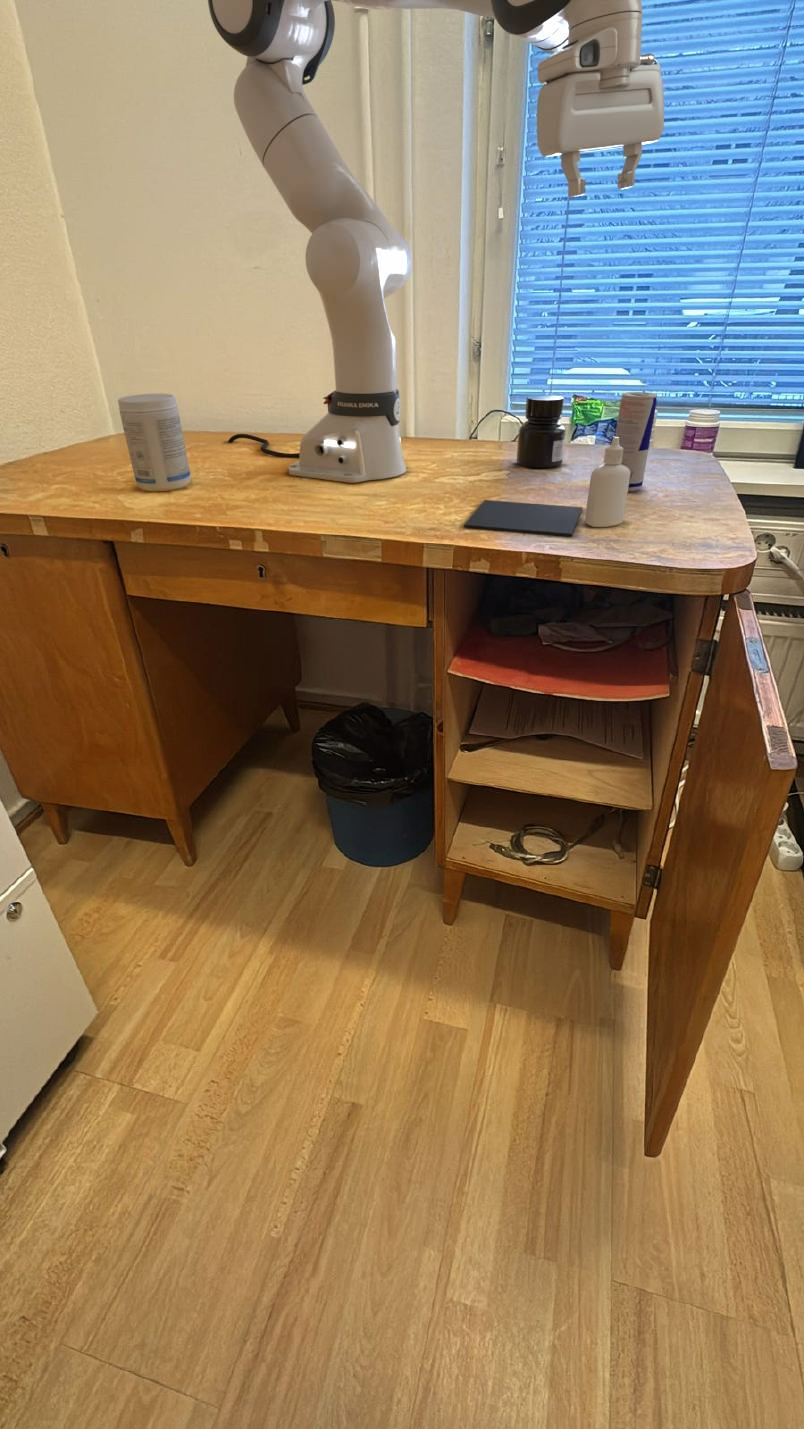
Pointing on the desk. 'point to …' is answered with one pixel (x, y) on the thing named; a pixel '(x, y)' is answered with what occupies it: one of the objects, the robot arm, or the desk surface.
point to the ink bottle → (542, 433)
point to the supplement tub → (155, 441)
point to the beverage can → (635, 433)
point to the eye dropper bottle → (608, 489)
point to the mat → (525, 518)
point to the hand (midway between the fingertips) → (601, 192)
